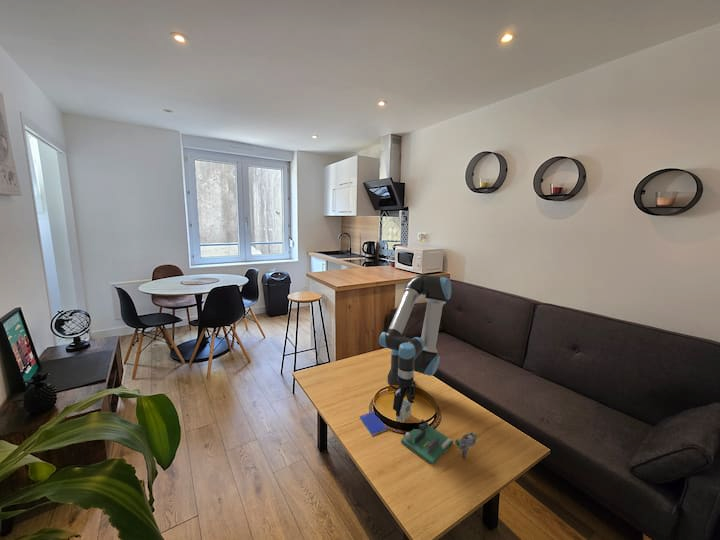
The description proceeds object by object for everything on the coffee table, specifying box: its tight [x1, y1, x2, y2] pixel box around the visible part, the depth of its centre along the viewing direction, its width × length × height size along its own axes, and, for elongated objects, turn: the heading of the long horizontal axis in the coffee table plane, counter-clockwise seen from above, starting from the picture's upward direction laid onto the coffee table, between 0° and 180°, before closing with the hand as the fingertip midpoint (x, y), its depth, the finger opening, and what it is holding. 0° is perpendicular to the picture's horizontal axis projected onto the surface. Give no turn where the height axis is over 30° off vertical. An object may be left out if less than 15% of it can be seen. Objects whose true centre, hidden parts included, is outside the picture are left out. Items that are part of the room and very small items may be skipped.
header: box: [415, 429, 439, 454], centre depth 130 cm, size 7×7×4 cm
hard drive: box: [359, 411, 388, 436], centre depth 144 cm, size 2×8×12 cm
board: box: [400, 419, 454, 466], centre depth 132 cm, size 16×16×4 cm
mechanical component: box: [454, 432, 478, 460], centre depth 124 cm, size 3×10×10 cm, turn 113°
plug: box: [401, 399, 410, 422], centre depth 147 cm, size 4×5×8 cm
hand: (403, 416), depth 148 cm, fingers open, 7 cm apart
